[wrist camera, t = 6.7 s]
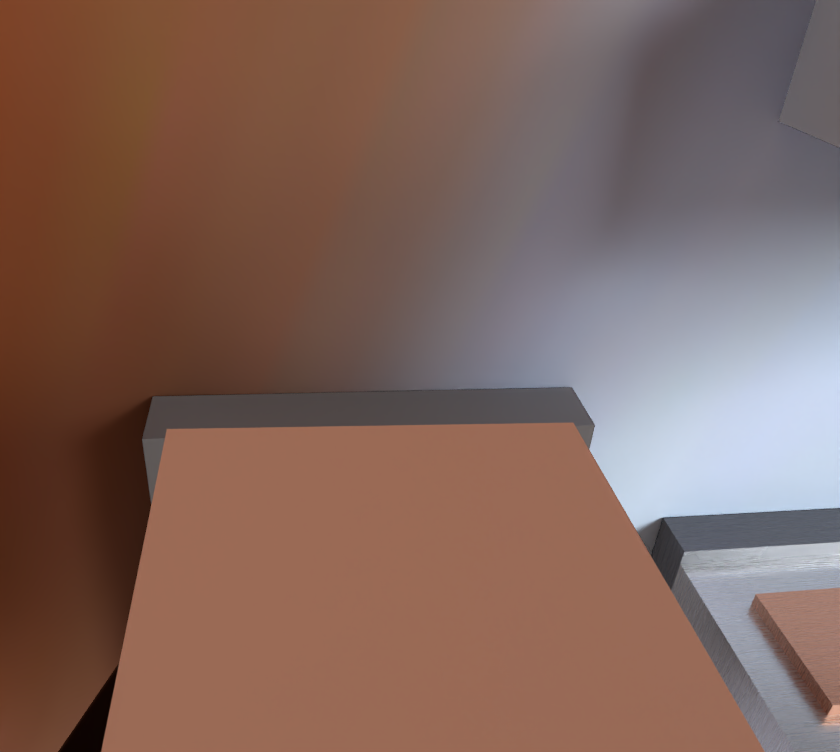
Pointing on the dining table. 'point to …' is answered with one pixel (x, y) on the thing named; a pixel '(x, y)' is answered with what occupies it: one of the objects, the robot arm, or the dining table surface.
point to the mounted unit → (765, 615)
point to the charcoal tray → (359, 412)
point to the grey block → (817, 77)
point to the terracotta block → (405, 601)
